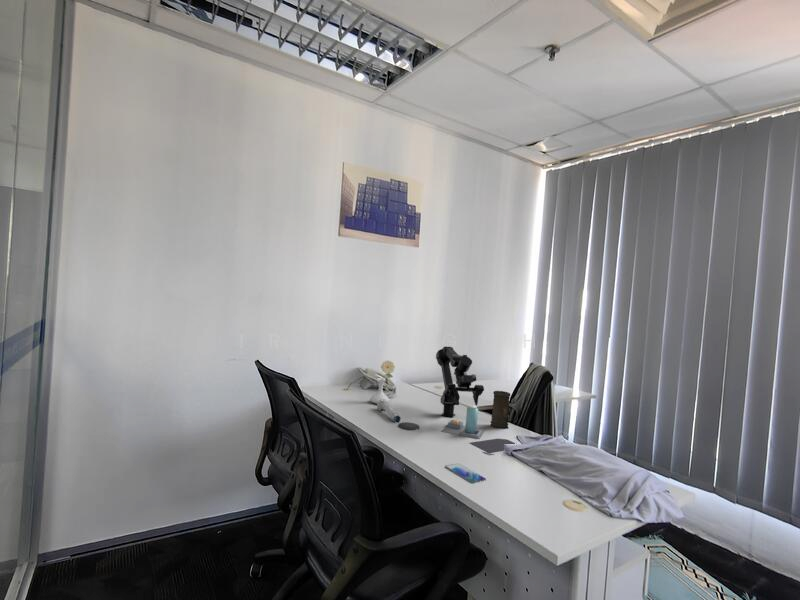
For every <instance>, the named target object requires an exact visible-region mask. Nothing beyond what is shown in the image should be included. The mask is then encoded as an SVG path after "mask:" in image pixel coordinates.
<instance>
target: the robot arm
mask: <svg viewBox="0 0 800 600" xmlns="http://www.w3.org/2000/svg"><path fill="white" fill-rule="evenodd" d="M435 354H436V355H435V359H436V362H437V364H438V366H440V368H441V373H442V380H443V384H444V390H443V393H442V395H441V397H440V404H441V405H443V410H442V413H441V414H440V416H443V417H447V416H448V418H454V417H455V416H456V413H454V412H455V406H459V405H460V394H459V392H465V393H466V392H467V393H470V392H471V393H472V398H473V401H474V404H475V405H474V406H477V407H478V404H479V397H480V396H482V395H483V392H484V391H485V387H484V385H482V384H475V385H474V387H471V386H472V383H474V382H476V381H477V375H476V374H469V375H468V374H467V372H468V371H469V370H470V368H471V366H472V364H473V360H472V359H471V358H470V357H468V355H467V354H463V355H460V354H459V353H457V352H456V350H455V349H454V347H452V346H443V347H442V348H441V349H438V351H437V352H436V353H435ZM450 365H451V366H450ZM451 367H452V368H454V371H453V372H454V373H453V375H454V376H455V379H456V381H455V383H454V382H453V377H452V371H451Z"/></svg>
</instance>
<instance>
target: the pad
mask: <svg viewBox="0 0 800 600" xmlns="http://www.w3.org/2000/svg"><path fill="white" fill-rule="evenodd" d="M398 428H400V429H402V428H403V429H402V430H405V429H407V431H416V429H417V430H419V429H420V425H419V424H417V423H414V422H411V421H410V422H399V423H398Z"/></svg>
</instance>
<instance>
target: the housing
mask: <svg viewBox="0 0 800 600" xmlns="http://www.w3.org/2000/svg"><path fill="white" fill-rule="evenodd" d="M453 420H454V419H450V420H449V421H448V422H447V425H446V426H445V427H444V428H442V430H441V431H440V432H441V433H446V434H449V435H453V436H454V435H456V436H459V437H465V438H471V439H476V440H480V439H481V438H482V436H483V434H484V433H485V432H486V429H483V428H478V427H477V432H476V435H474V434H469V433H465V427H466V425H464V421H461V420H458V421H459V424H456V423H452V422H453Z"/></svg>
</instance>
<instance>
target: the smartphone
mask: <svg viewBox="0 0 800 600" xmlns="http://www.w3.org/2000/svg"><path fill="white" fill-rule="evenodd" d="M444 468H445V469H447V470H448V469H449V470H448V471H450V470H451V471H450V472H452V473H453V472H454V475H457V476H458V475H459V477H460V478H461V479H463V478H464V479H463V480H465V481H467V482H468V481H469V483H470V482H471V483H470V484H477V483H481V482H485V481H487V478H485V477H483V476H482V475H480V474H478V473H477V472H475V471H473V470H471V469H470V468H468V467H466V466H465V465H462V464H461V463H452V464H451V463H450V464H447V465H445V466H444ZM484 480H485V481H484ZM480 481H481V482H480ZM476 482H477V483H476Z"/></svg>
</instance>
